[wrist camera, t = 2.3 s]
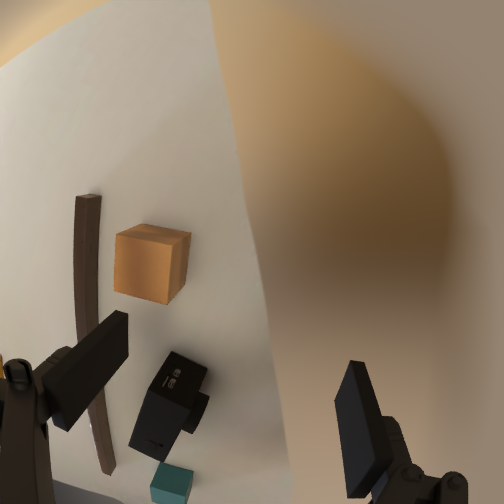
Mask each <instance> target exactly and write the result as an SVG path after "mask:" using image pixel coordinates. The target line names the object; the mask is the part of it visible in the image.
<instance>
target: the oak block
mask: <svg viewBox="0 0 504 504" xmlns="http://www.w3.org/2000/svg"><path fill="white" fill-rule="evenodd" d="M190 239H191V233H188V232H183V231H178V230H173V229H168V228H162V227H157V226H152V225H147V224H139V225H137V226H134V227H132V228H130V229H127V230H125V231H122V232H120V233H117V234H116V243H115V264H114V291H116V292H119V293H123V294H127V295H130V296H134V297H138V298H142V299H145V300H149V301H153V302H157V303H161V304H165V305H168V303H169V302H170V301H171V300H172V299H173V298H174V296H175V295H176V294H177V293H178V292H179V291H180V289H181V288H182V287H183V286H184V285H185V281H186V272H187V263H188V255H189V247H190Z"/></svg>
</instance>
